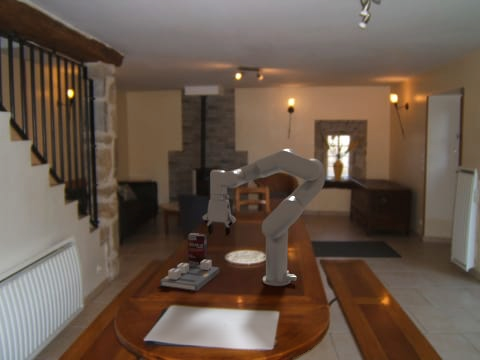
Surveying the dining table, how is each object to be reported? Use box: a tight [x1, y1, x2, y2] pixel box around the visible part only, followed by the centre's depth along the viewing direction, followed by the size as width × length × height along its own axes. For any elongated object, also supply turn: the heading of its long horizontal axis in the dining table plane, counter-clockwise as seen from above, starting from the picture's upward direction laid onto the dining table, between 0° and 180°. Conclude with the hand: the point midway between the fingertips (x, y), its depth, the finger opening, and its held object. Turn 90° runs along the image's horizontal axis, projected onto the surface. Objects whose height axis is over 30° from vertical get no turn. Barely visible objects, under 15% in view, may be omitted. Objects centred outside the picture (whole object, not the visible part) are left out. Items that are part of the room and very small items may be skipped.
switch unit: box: [159, 263, 220, 292], centre depth 190 cm, size 18×24×3 cm
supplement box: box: [187, 232, 208, 265], centre depth 209 cm, size 9×5×16 cm, turn 78°
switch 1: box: [167, 267, 181, 280], centre depth 184 cm, size 4×4×4 cm
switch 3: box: [200, 259, 213, 270], centre depth 196 cm, size 4×4×4 cm
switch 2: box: [176, 262, 189, 274], centre depth 191 cm, size 4×4×4 cm
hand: (219, 234), depth 191 cm, fingers open, 7 cm apart
